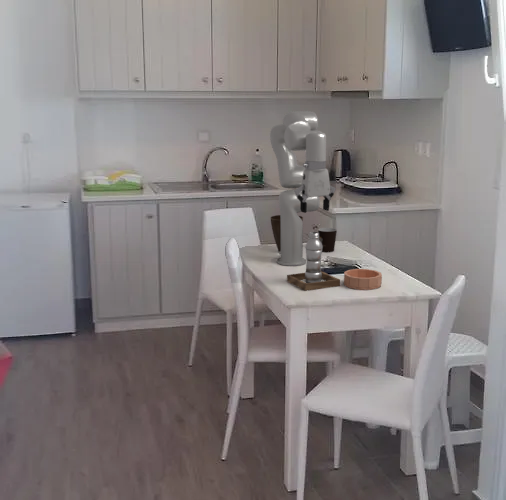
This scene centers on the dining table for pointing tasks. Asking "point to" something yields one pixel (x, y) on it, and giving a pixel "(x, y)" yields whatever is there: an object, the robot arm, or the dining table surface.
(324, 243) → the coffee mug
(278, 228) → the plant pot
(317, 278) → the grey metal bulbous cylinder
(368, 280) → the terracotta bowl
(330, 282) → the brown picture frame
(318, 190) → the robot arm
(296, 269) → the dining table surface
